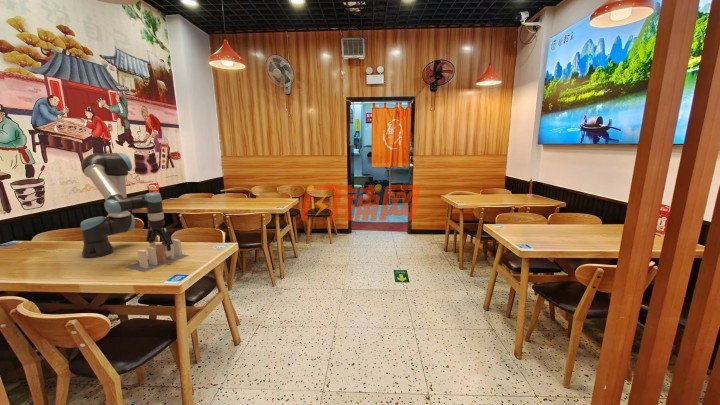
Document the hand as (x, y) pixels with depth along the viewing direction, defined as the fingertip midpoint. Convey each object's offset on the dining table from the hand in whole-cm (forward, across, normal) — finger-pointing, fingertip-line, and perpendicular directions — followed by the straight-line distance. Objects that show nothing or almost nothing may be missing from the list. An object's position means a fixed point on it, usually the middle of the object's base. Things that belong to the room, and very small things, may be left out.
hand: (161, 254), depth 172 cm
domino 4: (+4, 0, +5) cm, 7 cm away
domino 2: (+4, 0, -5) cm, 7 cm away
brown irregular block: (+5, -15, +12) cm, 20 cm away
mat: (+5, -2, -1) cm, 5 cm away
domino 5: (+4, 0, +10) cm, 11 cm away
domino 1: (+4, 0, -10) cm, 11 cm away
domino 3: (+4, 0, 0) cm, 4 cm away
